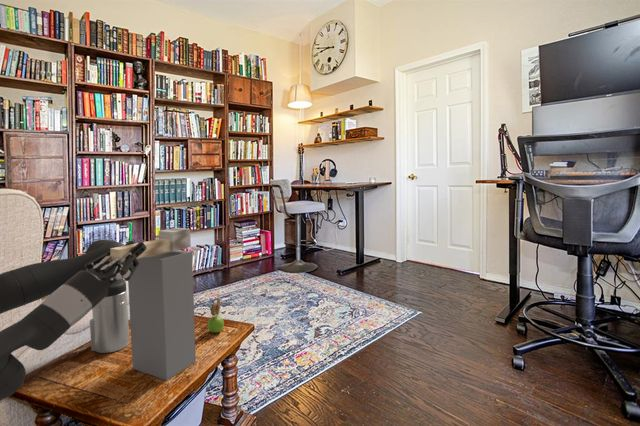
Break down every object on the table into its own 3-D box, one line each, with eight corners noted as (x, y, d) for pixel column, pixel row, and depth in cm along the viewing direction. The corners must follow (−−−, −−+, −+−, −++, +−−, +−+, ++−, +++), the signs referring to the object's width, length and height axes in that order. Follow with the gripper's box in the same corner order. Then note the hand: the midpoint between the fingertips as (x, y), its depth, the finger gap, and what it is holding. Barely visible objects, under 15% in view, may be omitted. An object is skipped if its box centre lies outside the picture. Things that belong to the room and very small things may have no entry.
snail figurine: (227, 327, 121) (226, 294, 119) (220, 336, 114) (219, 301, 113) (212, 326, 121) (211, 293, 120) (204, 335, 115) (203, 300, 114)
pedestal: (167, 380, 89) (161, 258, 86) (132, 368, 95) (126, 253, 91) (195, 361, 98) (192, 250, 95) (163, 351, 104) (158, 246, 100)
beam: (122, 263, 77) (121, 241, 76) (108, 260, 79) (106, 239, 79) (190, 246, 95) (190, 228, 94) (177, 245, 97) (176, 227, 97)
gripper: (86, 291, 66) (151, 234, 78) (44, 281, 72) (111, 229, 84) (107, 316, 70) (166, 258, 82) (66, 305, 76) (127, 253, 88)
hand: (138, 244), depth 83 cm, fingers closed on beam, 3 cm apart
